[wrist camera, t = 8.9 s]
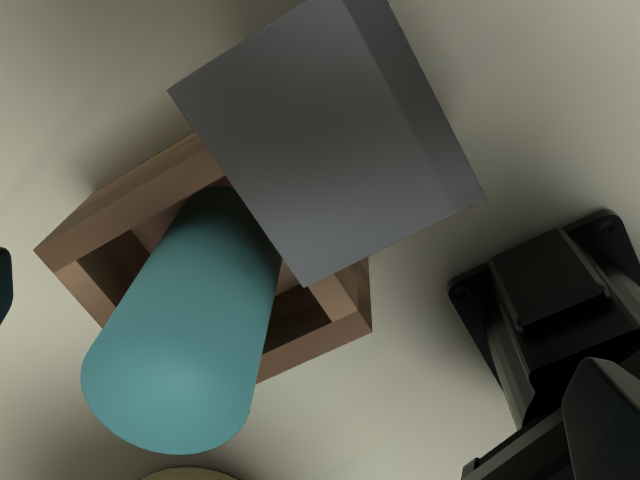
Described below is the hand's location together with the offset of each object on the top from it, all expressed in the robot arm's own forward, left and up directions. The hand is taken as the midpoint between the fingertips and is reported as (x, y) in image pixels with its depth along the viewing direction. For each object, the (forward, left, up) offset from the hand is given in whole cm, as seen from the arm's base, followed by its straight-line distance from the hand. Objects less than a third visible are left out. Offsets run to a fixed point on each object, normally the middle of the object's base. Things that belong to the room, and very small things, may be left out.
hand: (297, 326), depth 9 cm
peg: (-2, +5, -11) cm, 12 cm away
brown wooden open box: (-1, +3, -12) cm, 12 cm away
